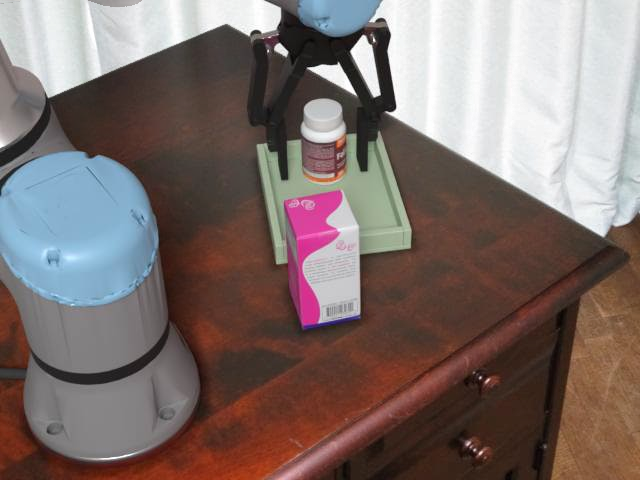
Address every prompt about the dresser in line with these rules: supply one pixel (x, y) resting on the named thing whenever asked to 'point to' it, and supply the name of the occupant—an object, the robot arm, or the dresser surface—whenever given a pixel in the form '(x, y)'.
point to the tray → (359, 188)
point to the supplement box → (323, 259)
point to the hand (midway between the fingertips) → (322, 167)
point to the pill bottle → (323, 142)
